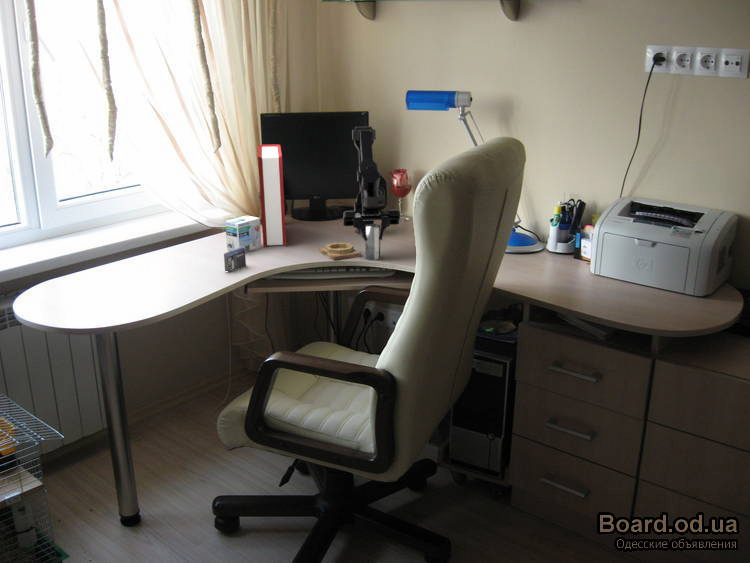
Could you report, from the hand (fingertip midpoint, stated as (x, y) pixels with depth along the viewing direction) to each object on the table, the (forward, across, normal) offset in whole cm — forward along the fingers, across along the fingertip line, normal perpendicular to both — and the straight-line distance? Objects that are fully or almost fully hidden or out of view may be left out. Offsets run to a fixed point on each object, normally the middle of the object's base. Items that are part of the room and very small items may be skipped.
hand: (373, 239), depth 242 cm
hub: (-1, -11, +10) cm, 15 cm away
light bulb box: (-7, -44, +17) cm, 47 cm away
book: (-18, -34, +28) cm, 47 cm away
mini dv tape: (+9, -45, +1) cm, 45 cm away
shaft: (+4, 0, +6) cm, 7 cm away
